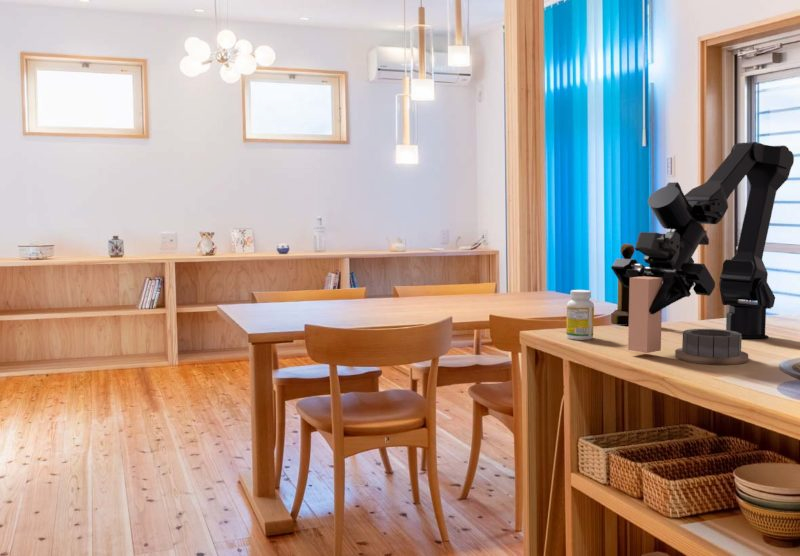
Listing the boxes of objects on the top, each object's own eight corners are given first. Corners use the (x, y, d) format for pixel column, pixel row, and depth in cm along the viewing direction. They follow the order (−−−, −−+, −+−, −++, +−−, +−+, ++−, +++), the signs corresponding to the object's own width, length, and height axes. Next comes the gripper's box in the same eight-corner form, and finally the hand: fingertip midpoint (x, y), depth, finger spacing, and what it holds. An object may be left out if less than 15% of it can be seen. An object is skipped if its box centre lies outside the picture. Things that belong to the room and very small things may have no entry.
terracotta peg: (642, 347, 152) (643, 276, 150) (660, 350, 149) (662, 277, 147) (628, 349, 149) (629, 277, 148) (646, 353, 146) (648, 279, 145)
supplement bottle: (580, 341, 164) (581, 292, 164) (560, 337, 169) (561, 290, 168) (599, 338, 168) (599, 291, 167) (578, 335, 172) (579, 288, 171)
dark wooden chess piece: (621, 320, 192) (622, 242, 191) (646, 323, 188) (648, 243, 186) (605, 323, 188) (607, 243, 186) (631, 326, 183) (633, 244, 181)
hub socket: (733, 352, 152) (734, 327, 152) (759, 365, 140) (760, 338, 140) (666, 351, 152) (667, 327, 152) (687, 364, 140) (688, 338, 140)
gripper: (618, 215, 156) (578, 277, 151) (707, 216, 142) (667, 285, 136) (643, 255, 162) (605, 316, 156) (732, 260, 147) (693, 328, 142)
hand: (640, 311), depth 147 cm, fingers closed on terracotta peg, 4 cm apart
